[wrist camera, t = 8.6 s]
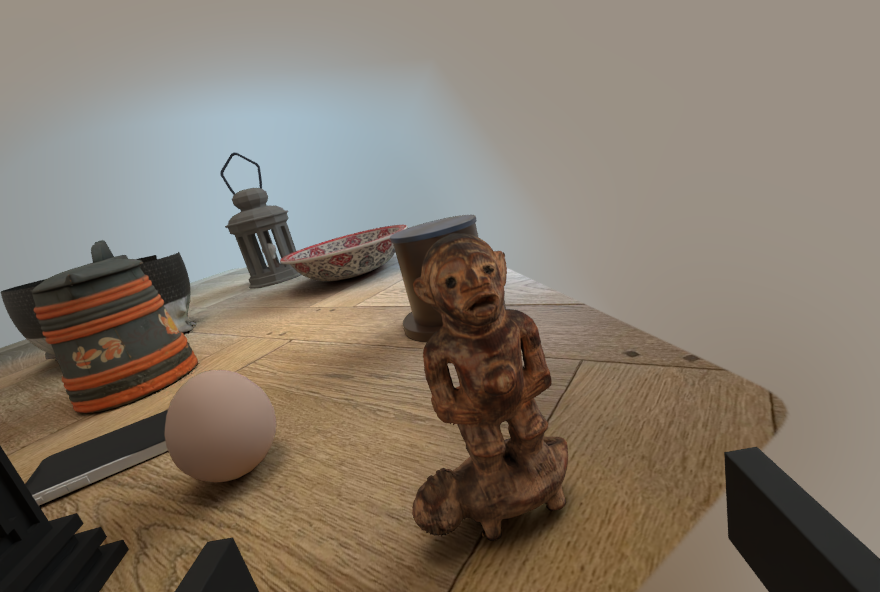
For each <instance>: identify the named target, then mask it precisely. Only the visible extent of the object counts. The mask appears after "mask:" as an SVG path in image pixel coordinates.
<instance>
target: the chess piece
mask: <svg viewBox="0 0 880 592" xmlns="http://www.w3.org/2000/svg"><path fill="white" fill-rule="evenodd" d="M82 525H83V522H82V520H81V519H80V517H79V516H78V514H77V513H76V514H72V515H69V516H65V517H62V518H58V519H55V520H51V521H48V519H47V518H46V516H45V515H44V513H43V512H42V510H41V508H40V507H39V505H38V504H37V502H36V501H35V499H34V498H33V496H32V494H31V493H30V491H29V490H28V488H27V487H26V485H25V484H24V482H23V480H22V479H21V477H20V476H19V474H18V473H17V471H16V470H15V468H14V466H13V465H12V463H11V462H10V460H9V459H8V457H7V456H6V454H5V452H4V451H3V449H2V448H1V446H0V592H99V590H100V589H101V588H102V586H103V585H104V583H105V582H106V581H107V579H108V578H109V576H110V575H111V573H112V572H113V571H114V569H115V568H116V566H117V565H118V564H119V562H120V561H121V559H122V558H123V557H124V555H125V554H126V552H127V551H128V547H127V545H126V544H125V542H124V540H120V541H116V542H113V543H109V544H106V545H102V546H100V545H101V544H102V542H103V541H104V540H105V539H106V537H107V536H106V535H105V533H104V531H103V530H102V528H101V527H98V528H95V529H91V530H88V531H84V532H81V533H77V534H75V533H76V531H77V530H78V529H79V528H80V527H81V526H82Z"/></svg>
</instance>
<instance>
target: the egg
mask: <svg viewBox="0 0 880 592" xmlns="http://www.w3.org/2000/svg"><path fill="white" fill-rule="evenodd" d="M275 432H276V416H275V412H274V408H273V406H272V404H271V402H270V400H269V398H268V396H267V395H266V393H265V392H264V391H263V390H262V388H261V387H259V386H258V385H257V384H255V383H254V382H252V381H251V380H250V379H248V378H247V377H245V376H243V375H241V374H239V373H236V372H232V371H227V370H210V371H205V372H202V373H199V374H198V375H196V376H194V377H192V378H190V379H189V380H188V381H187V382H186V383H185V384H183V385H182V386H181V388H180V389H179V390H178V391H177V392H176V394H175V395H174V397H173V399H172V400H171V403H170V406H169V409H168V412H167V415H166V424H165V440H166V446H167V449H168V451H169V453H170V456H171V458H172V460H173V461H174V463H175V464H176V466H177V467H178V468H179V469H180V470H181V471H183V472H184V473H185V474H187V475H189V476H191V477H193V478H195V479H198V480H200V481H207V482H226V481H229V480H233V479H237V478H239V477H241V476H243V475H245V474H247V473H249V472H250V471H251V470H253V469H254V468H255V467H256V466H257V465H258V464H259V463H260V462H261V461H262V460H263V458H264V457H265V456H266V454H267V453H268V451H269V449H270V447H271V445H272V443H273V440H274V437H275Z"/></svg>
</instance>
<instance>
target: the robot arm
mask: <svg viewBox="0 0 880 592" xmlns="http://www.w3.org/2000/svg"><path fill="white" fill-rule="evenodd" d="M724 454H725V475H726V496H727V516H728V537H729V539H730V541H731V542H732V543H733V545H734V546H735V547H736V549H737V550H738V551H739V553H740V554H741V555H742V557H743V558H744V559H745V561H746V562H747V563H748V564H749V566H750V567H751V568H752V570H753V571H754V572H755V574H756V575H757V577H758V578H759V579H760V581H761V582H762V583H763V585H764V586H765V587H766V589H767V590H768V591H769V592H880V559H879V558H878V557H877V556H876V555H875V554H874V553H873V552H872V551H871V550H869V549H868V548H867V547H866V546H865V545H864V544H863V543H862V542H861V541H859V540H858V538H856V537H855V536H854V535H853V534H852V533H851V532H850V531H849V530H848V529H846V528H845V527H844V526H843V525H842V524H841V523H840V522H839V521H838V520H836V519H835V518H834V517H833V516H832V515H831V514H830V513H829V512H828V511H827V510H825V509H824V508H823V507H822V506H821V505H820V504H819V503H818V502H817V501H815V499H814V498H812V497H811V496H810V495H809V494H808V493H807V492H806V491H804V490H803V488H801V487H800V486H799V485H798V484H797V483H796V482H795V481H794V480H793V479H792V478H790V477H789V476H788V475H787V474H786V473H785V472H784V471H783V470H782V469H781V468H779V467H778V466H777V465H776V464H775V463H774V462H773V461H772V460H771V459H770V458H768V457H767V456H766V455H765V454H764V453H763V452H762V451H761V450H760V449H759V448H757V447H753V448H747V449H741V450H736V451H730V452H724ZM175 592H259V591H258V589H257V587H256V585H255V582H254V580H253V578H252V576H251V574H250V572H249V570H248V568H247V566H246V564H245V562H244V560H243V558H242V556H241V553H240V551H239V549H238V547H237V545H236V543H235V541H234V539H233V538H228V539H222V540H216V541H210V542H207V543H206V545H205V546H204V548H203V549H202V551H201V552H200V554H199V555H198V557H197V559H196V560H195V562H194V563H193V565H192V566H191V568H190V569H189V571H188V572H187V574H186V575H185V577H184V578H183V580H182V581H181V583H180V585H179V586H178V588H177V589H176V591H175Z"/></svg>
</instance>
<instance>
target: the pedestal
mask: <svg viewBox="0 0 880 592" xmlns="http://www.w3.org/2000/svg"><path fill="white" fill-rule="evenodd" d="M475 222H476V217H475V216H474V215H462V216H455V217H449V218H444V219H440V220H436V221H431V222H428V223H423V224H420V225H417V226H413V227H410V228H407V229H404V230H401V231H399V232H397V233H395V234H393V235H391V236H390V240H391V242H392V243H393V244H394V248H395V252H396V255H397V259H398V263H399V266H400V270H401V273H402V277H403V281H404V284H405V288H406V292H407V295H408V299H409V303H410V306H411V310H412V312H411V313H409V314H408V315H407V316H406V317H405V319H404V321H403V326H404V330H405V333H406V335H407V336H408V337H409V338H411V339H413V340H416V341H422V342H428V341H429V339H430V338H431V337H432V335H433V334H434V333H435V332H436V331H437V330H438V329H440V328H441V327H442V326H443V321H442V316H441V314H439V313H438V312H437V311H436V310H435V309H434V308H433V307H432V306H431V305H430V304H427V303H425V302H424V301H422V300H421V299H420V298H419V297H418V296H417V295H416V293H415V291H414V287H413V283H414V281H415V280H416V279H417V278H419V277H421V274H422V265H423V261H424V258H425V255H426V253H427V252H428V250H429V249H430V247H431V246H432V245H433V244H434V243H435V242H437V241H438V240H440V239H442V238H444V237H446V236H448V235H450V234H470V235H473V236H476V237H478V233H477V229H476V224H475ZM503 305H504V309H506V306H505V301H504V303H503Z"/></svg>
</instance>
